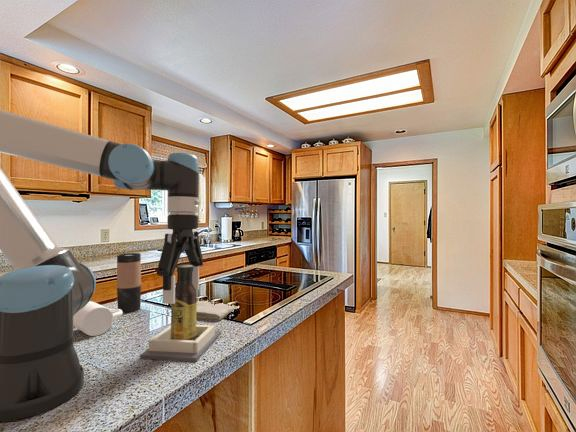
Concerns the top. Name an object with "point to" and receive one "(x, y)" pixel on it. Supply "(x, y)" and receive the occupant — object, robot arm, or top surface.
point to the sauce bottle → (184, 306)
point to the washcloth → (212, 310)
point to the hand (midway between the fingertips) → (182, 296)
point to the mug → (95, 318)
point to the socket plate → (181, 345)
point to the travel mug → (129, 282)
